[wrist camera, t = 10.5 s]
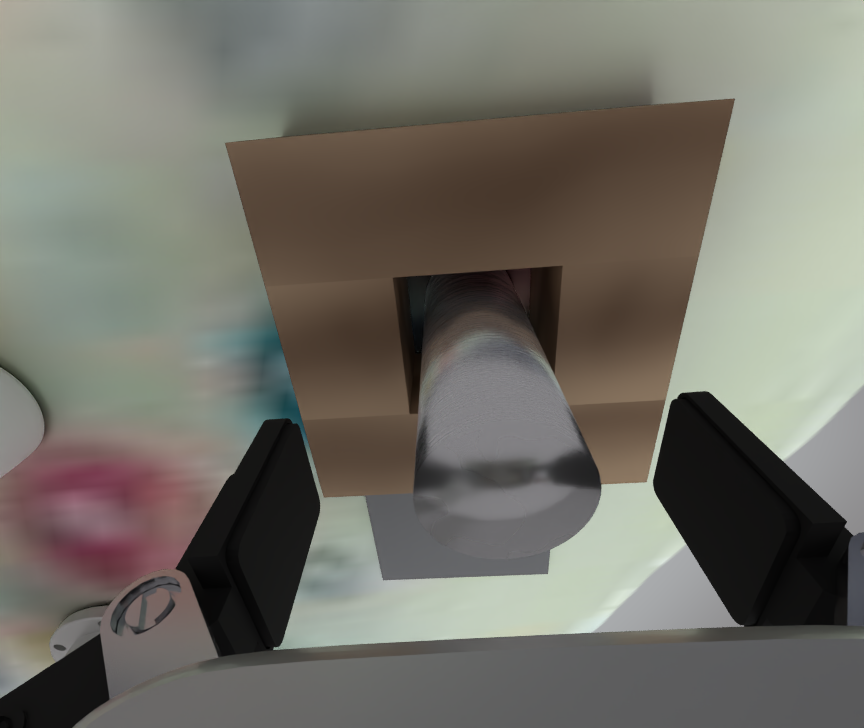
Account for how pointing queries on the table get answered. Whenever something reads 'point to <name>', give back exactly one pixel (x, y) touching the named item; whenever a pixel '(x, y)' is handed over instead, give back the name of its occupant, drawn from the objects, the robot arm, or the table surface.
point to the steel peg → (494, 427)
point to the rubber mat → (430, 547)
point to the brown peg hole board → (482, 265)
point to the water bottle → (17, 422)
